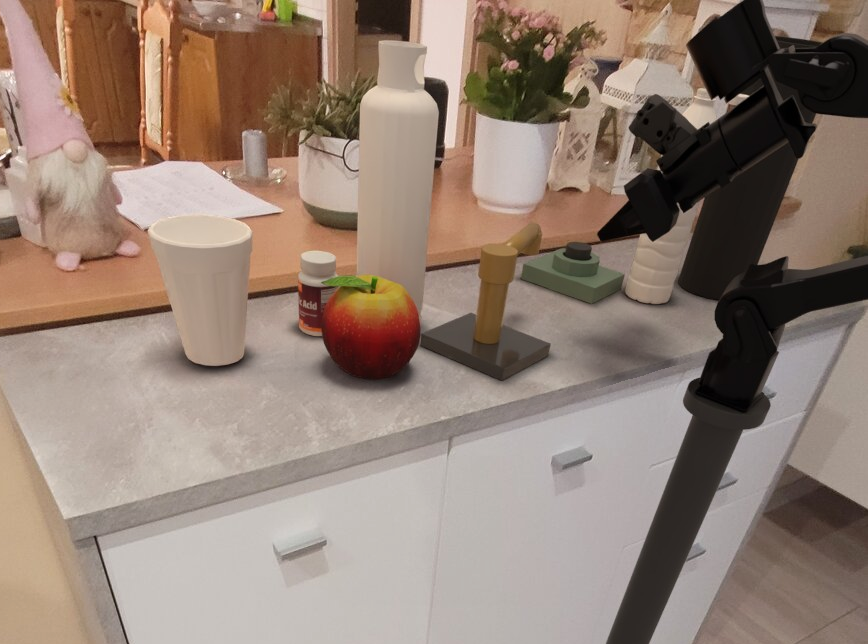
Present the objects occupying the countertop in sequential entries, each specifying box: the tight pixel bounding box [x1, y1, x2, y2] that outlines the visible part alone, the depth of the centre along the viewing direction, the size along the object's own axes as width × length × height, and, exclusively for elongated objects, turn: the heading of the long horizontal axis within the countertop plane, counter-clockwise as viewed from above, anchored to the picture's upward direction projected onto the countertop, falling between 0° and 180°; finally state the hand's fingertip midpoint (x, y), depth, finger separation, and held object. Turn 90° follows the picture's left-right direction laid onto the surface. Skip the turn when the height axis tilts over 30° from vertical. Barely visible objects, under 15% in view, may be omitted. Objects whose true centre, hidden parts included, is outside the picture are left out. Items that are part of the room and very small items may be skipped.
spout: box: [477, 221, 543, 284], centre depth 84 cm, size 16×4×3 cm, turn 155°
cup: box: [147, 213, 254, 367], centre depth 75 cm, size 10×10×13 cm
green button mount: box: [520, 247, 626, 304], centre depth 104 cm, size 12×9×4 cm
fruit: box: [321, 274, 422, 380], centre depth 77 cm, size 11×11×10 cm
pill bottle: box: [297, 250, 340, 337], centre depth 84 cm, size 5×5×8 cm
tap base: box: [419, 279, 552, 381], centre depth 83 cm, size 12×10×8 cm
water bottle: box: [624, 87, 749, 305], centre depth 96 cm, size 9×6×25 cm
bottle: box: [355, 39, 440, 328], centre depth 79 cm, size 8×8×28 cm
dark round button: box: [564, 241, 593, 261], centre depth 103 cm, size 4×4×2 cm
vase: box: [677, 35, 824, 301], centre depth 99 cm, size 10×10×30 cm
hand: (599, 237), depth 83 cm, fingers closed
